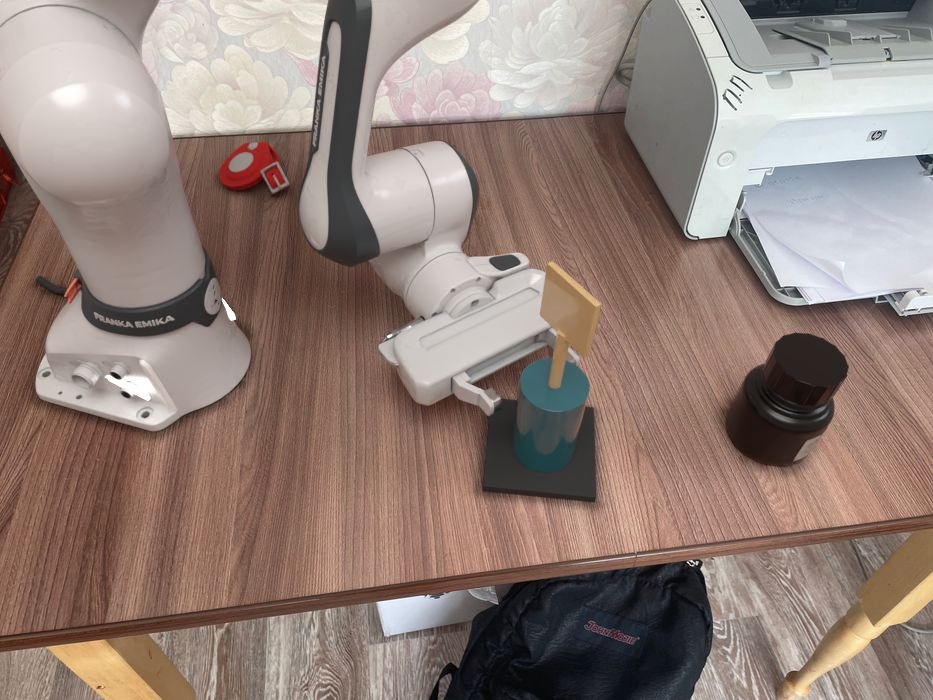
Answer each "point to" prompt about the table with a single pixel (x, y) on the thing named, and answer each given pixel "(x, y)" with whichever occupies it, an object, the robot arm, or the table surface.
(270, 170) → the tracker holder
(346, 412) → the table surface
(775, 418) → the ink bottle
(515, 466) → the plate
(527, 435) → the spatula crock
